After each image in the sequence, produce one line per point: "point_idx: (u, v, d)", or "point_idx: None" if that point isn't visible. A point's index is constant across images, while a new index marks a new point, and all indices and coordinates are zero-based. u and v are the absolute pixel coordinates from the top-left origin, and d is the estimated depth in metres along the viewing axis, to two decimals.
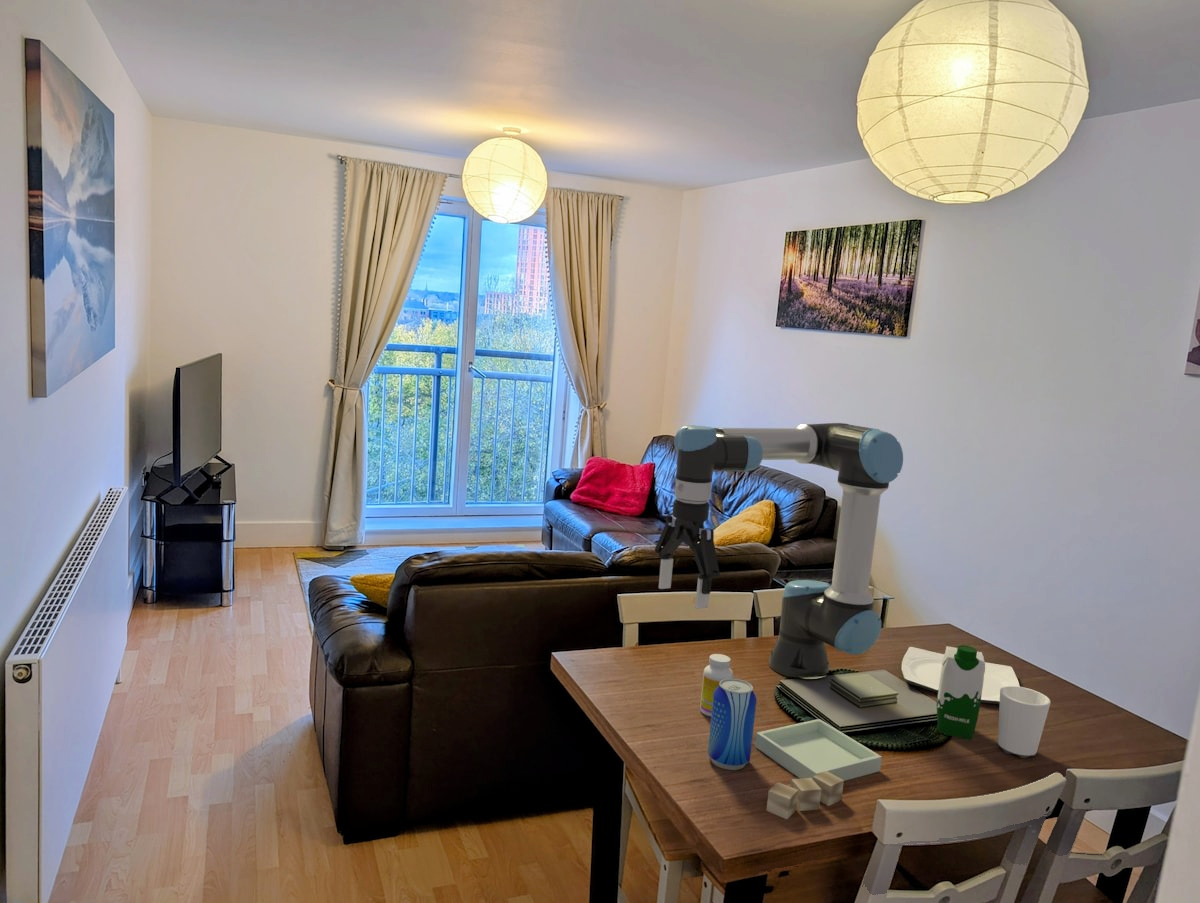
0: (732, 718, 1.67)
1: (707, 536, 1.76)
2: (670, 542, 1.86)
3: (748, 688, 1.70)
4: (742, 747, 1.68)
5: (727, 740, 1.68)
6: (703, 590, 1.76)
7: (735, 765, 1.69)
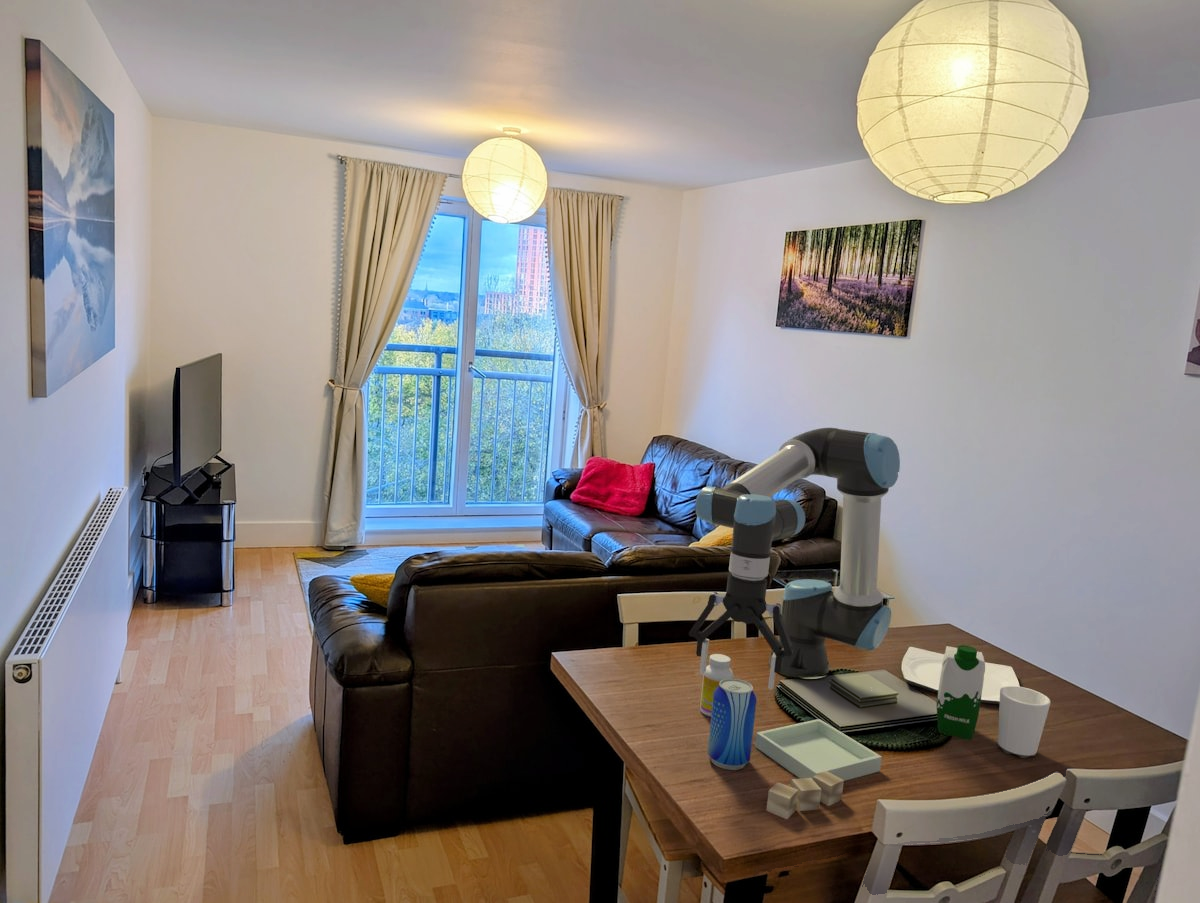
0: (732, 718, 1.67)
1: (780, 612, 1.65)
2: (718, 623, 1.69)
3: (748, 688, 1.70)
4: (742, 747, 1.68)
5: (727, 740, 1.68)
6: (778, 669, 1.66)
7: (735, 765, 1.69)
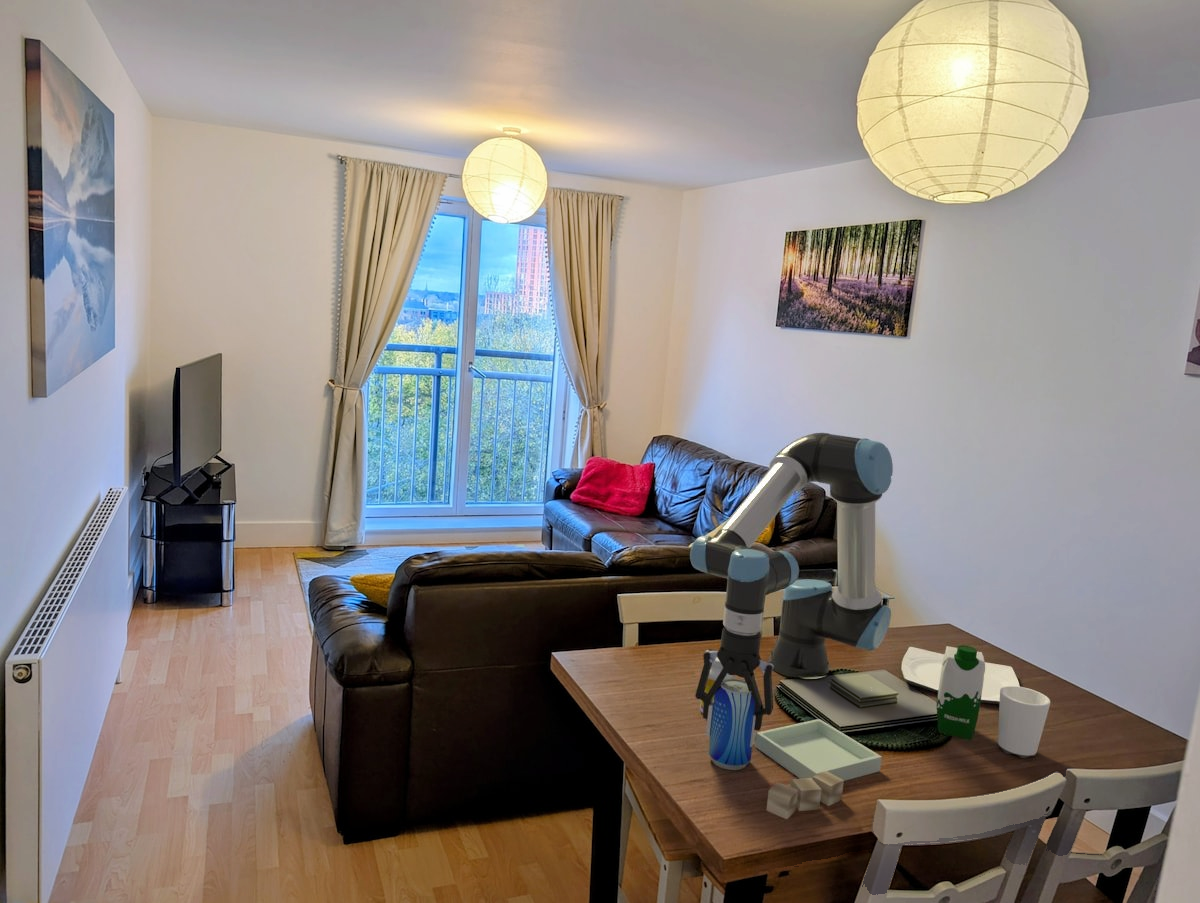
0: (733, 718, 1.67)
1: (771, 671, 1.67)
2: (718, 681, 1.70)
3: None
4: (743, 747, 1.68)
5: (728, 740, 1.68)
6: (758, 727, 1.69)
7: (736, 765, 1.69)
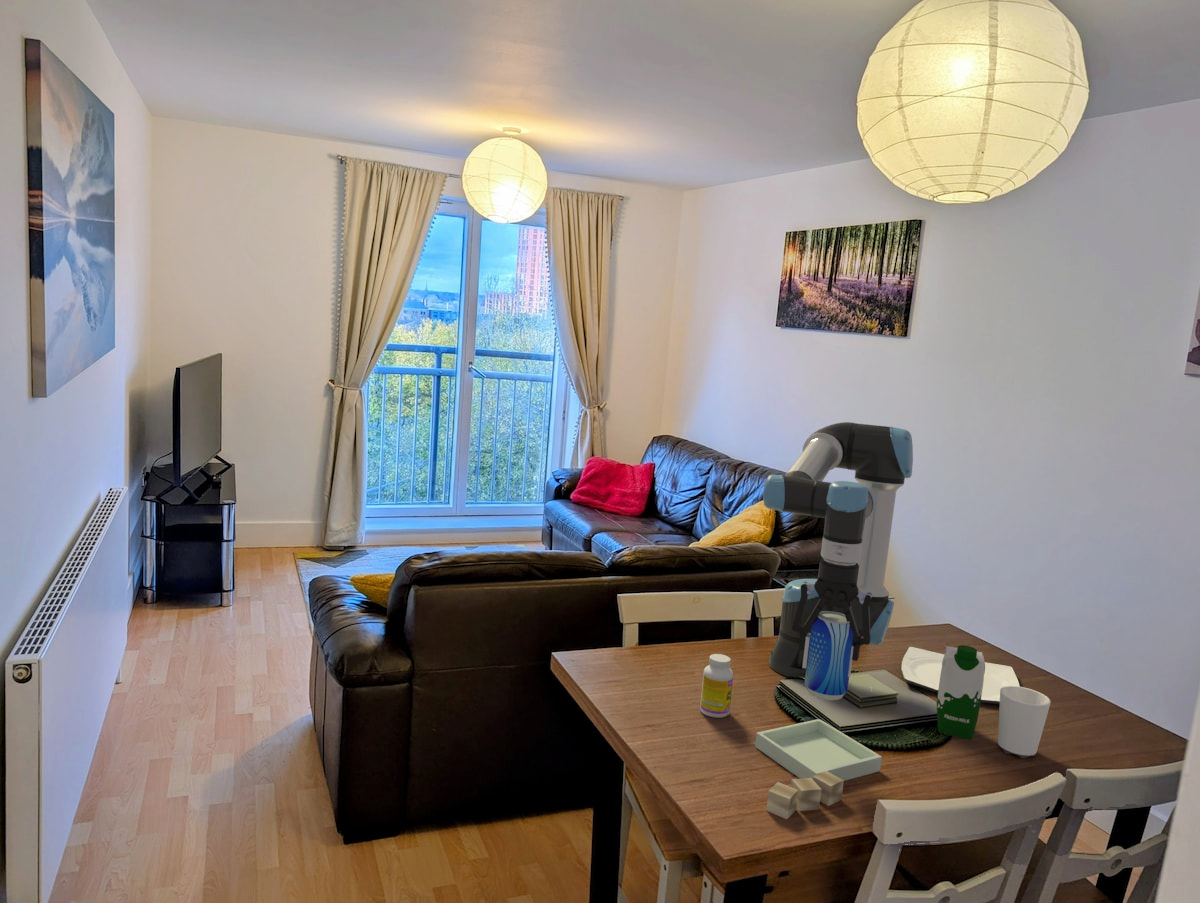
0: (832, 648, 1.69)
1: (870, 602, 1.69)
2: (816, 612, 1.72)
3: None
4: (841, 677, 1.70)
5: (827, 670, 1.70)
6: (855, 657, 1.71)
7: (834, 695, 1.70)
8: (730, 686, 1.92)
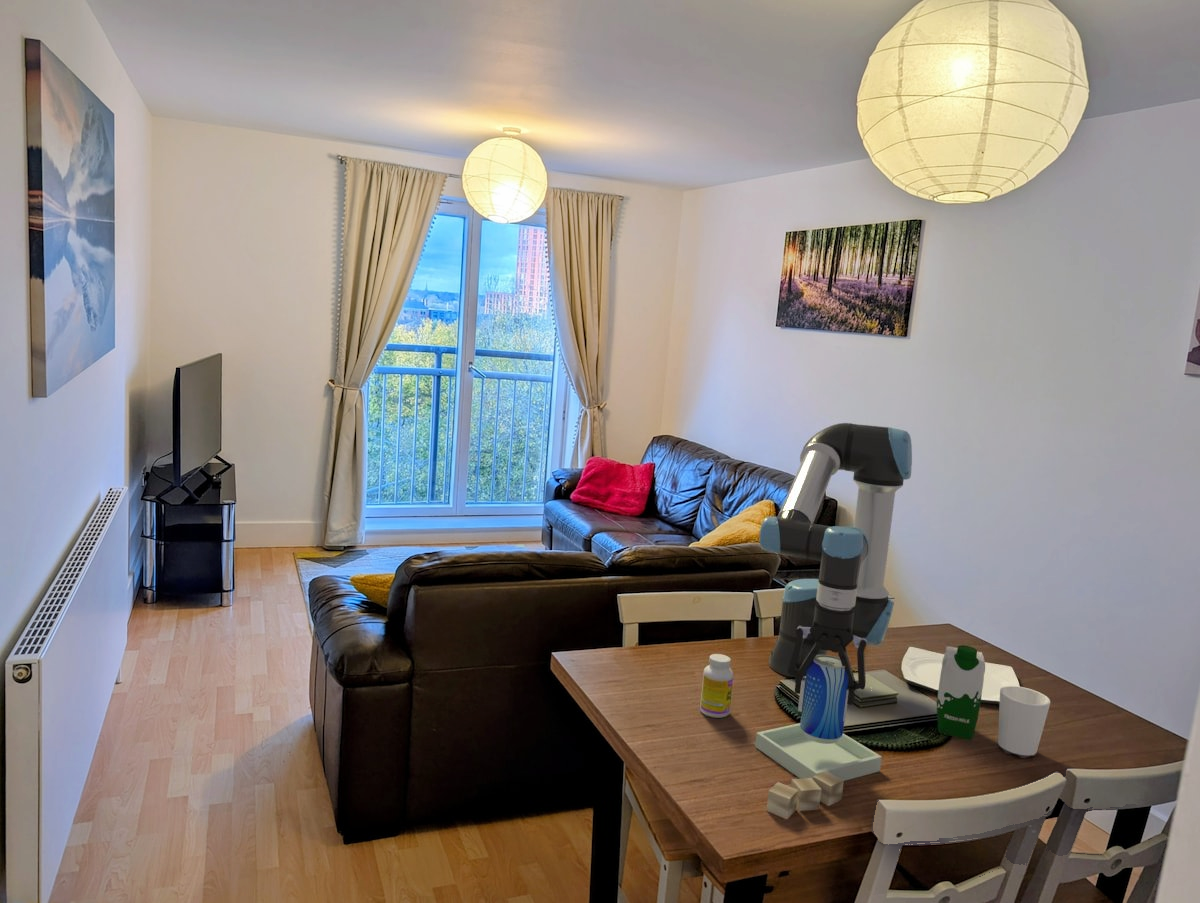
0: (827, 693, 1.70)
1: (865, 646, 1.70)
2: (811, 656, 1.73)
3: (841, 663, 1.73)
4: (837, 721, 1.71)
5: (822, 714, 1.71)
6: (851, 701, 1.72)
7: (830, 739, 1.72)
8: (730, 686, 1.92)
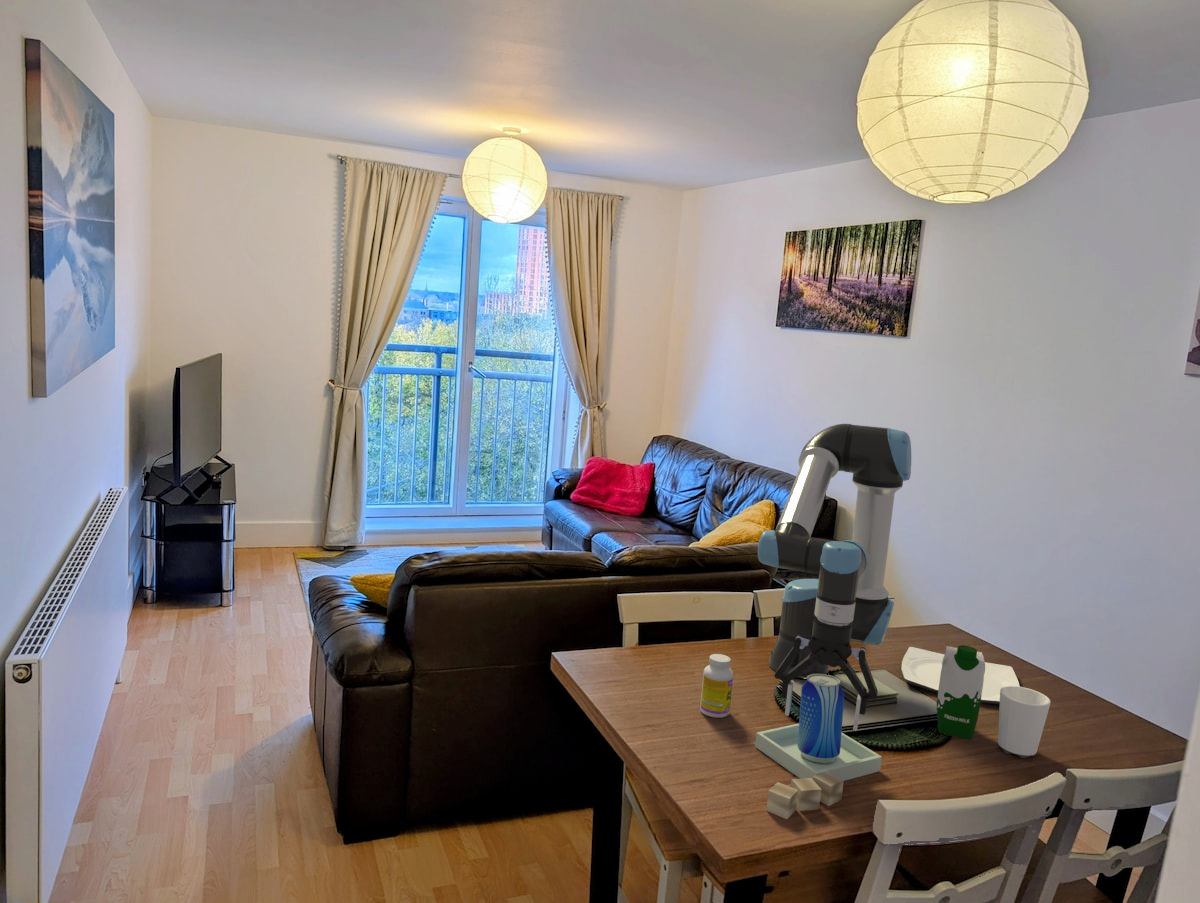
0: (822, 711, 1.71)
1: (865, 656, 1.71)
2: (804, 666, 1.74)
3: (835, 682, 1.75)
4: (833, 739, 1.72)
5: (818, 733, 1.72)
6: (863, 711, 1.72)
7: (827, 758, 1.72)
8: (730, 686, 1.92)
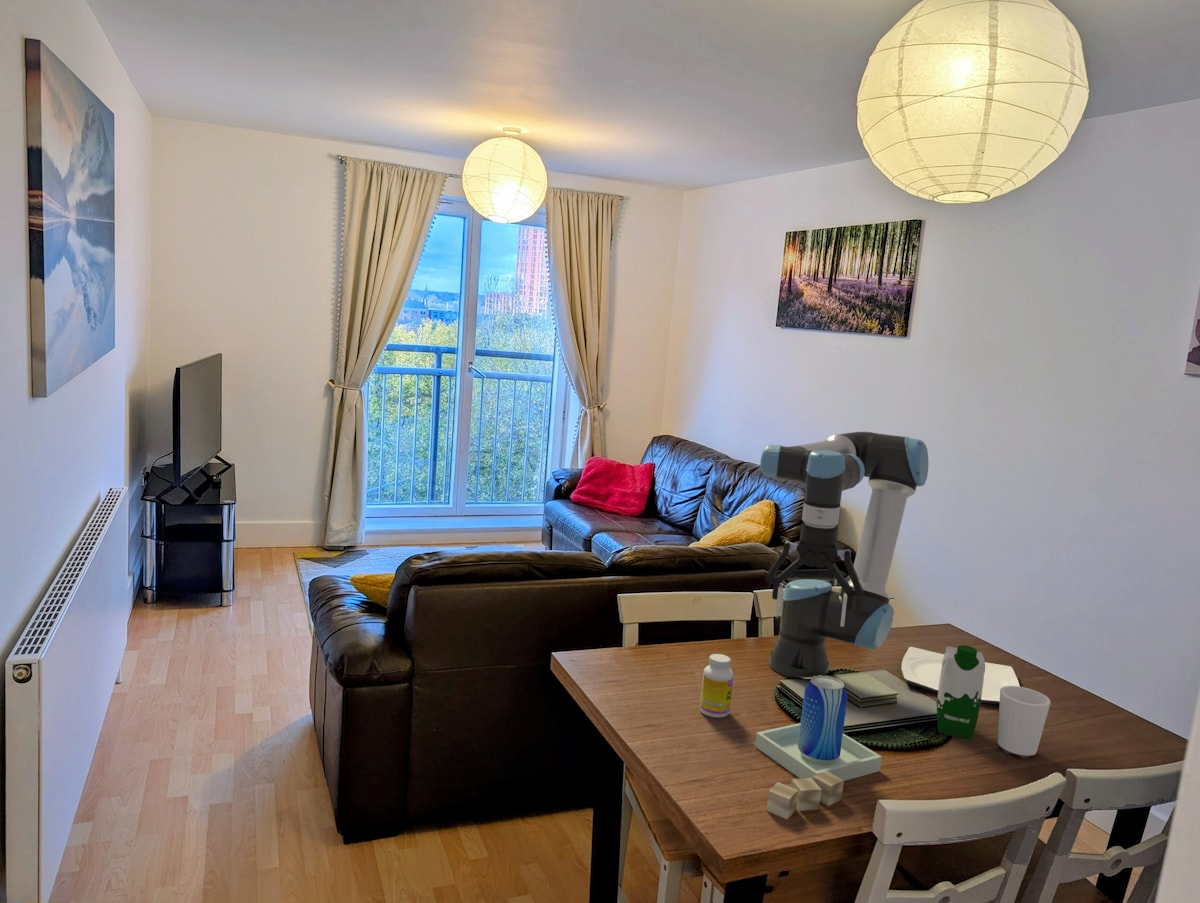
0: (825, 714, 1.71)
1: (850, 556, 1.82)
2: (793, 568, 1.85)
3: (839, 684, 1.74)
4: (834, 742, 1.72)
5: (820, 735, 1.72)
6: (849, 607, 1.83)
7: (827, 760, 1.72)
8: (730, 686, 1.92)
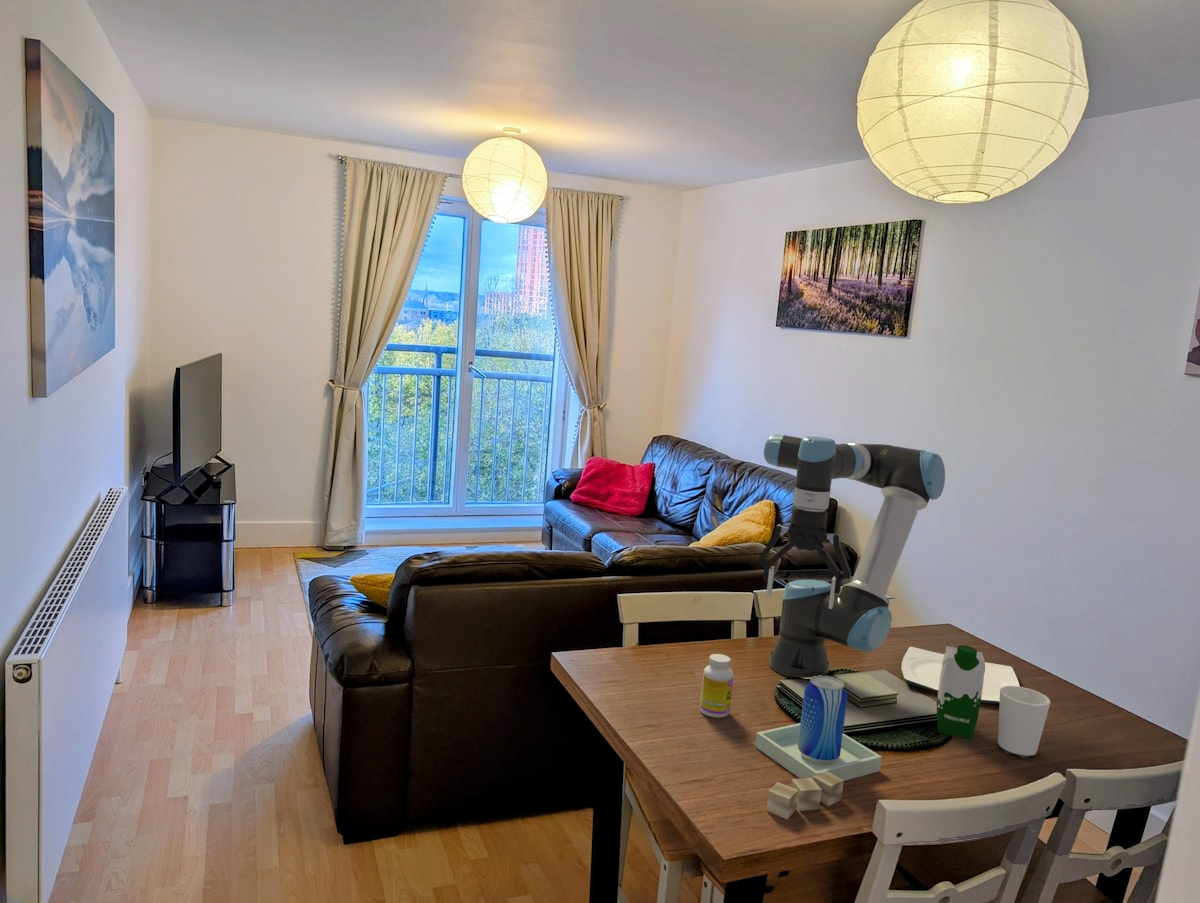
0: (825, 714, 1.71)
1: (839, 540, 1.87)
2: (783, 551, 1.91)
3: (839, 684, 1.74)
4: (834, 742, 1.72)
5: (820, 735, 1.72)
6: (837, 590, 1.88)
7: (827, 760, 1.72)
8: (730, 686, 1.92)
